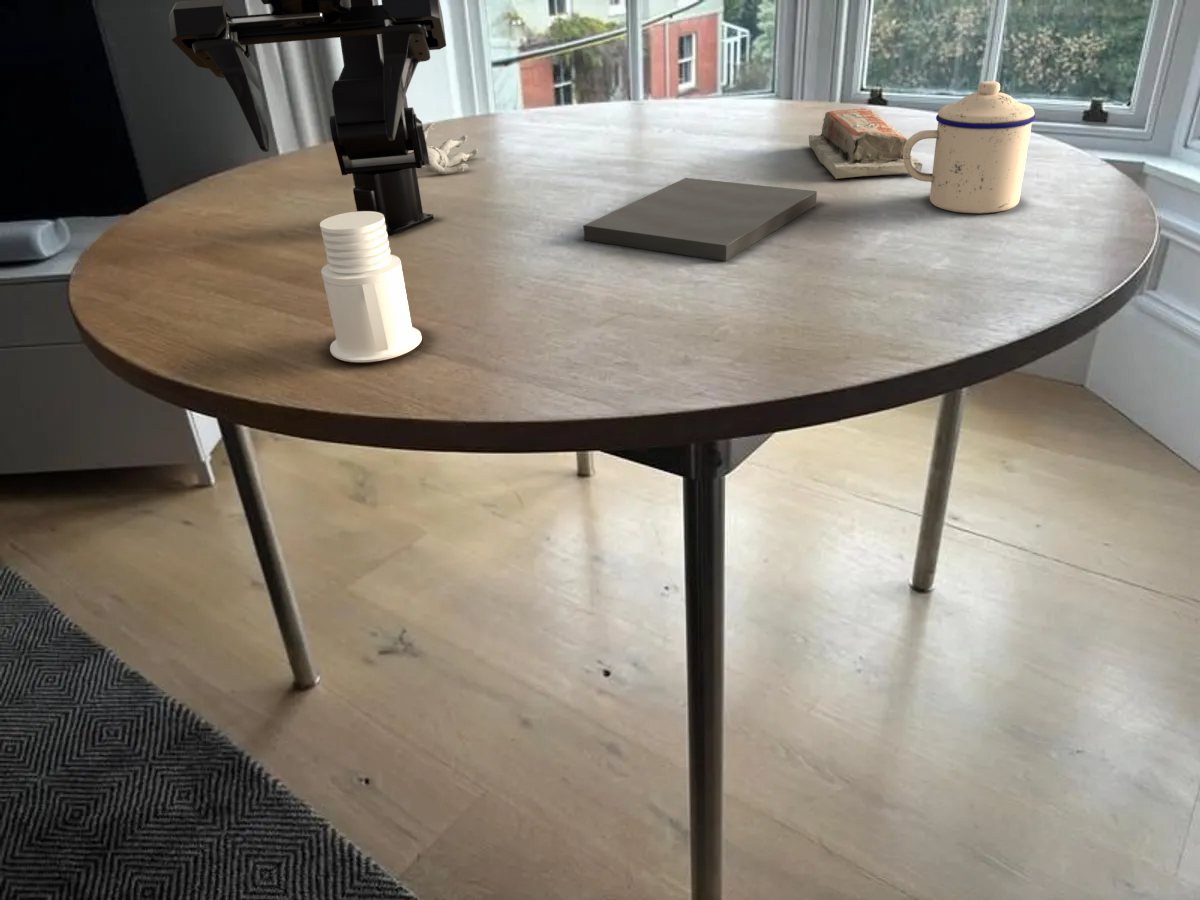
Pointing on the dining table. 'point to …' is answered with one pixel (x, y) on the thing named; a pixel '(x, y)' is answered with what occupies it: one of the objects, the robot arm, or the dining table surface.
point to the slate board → (701, 218)
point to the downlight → (365, 290)
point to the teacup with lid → (977, 152)
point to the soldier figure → (439, 156)
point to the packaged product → (860, 145)
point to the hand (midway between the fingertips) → (328, 144)
